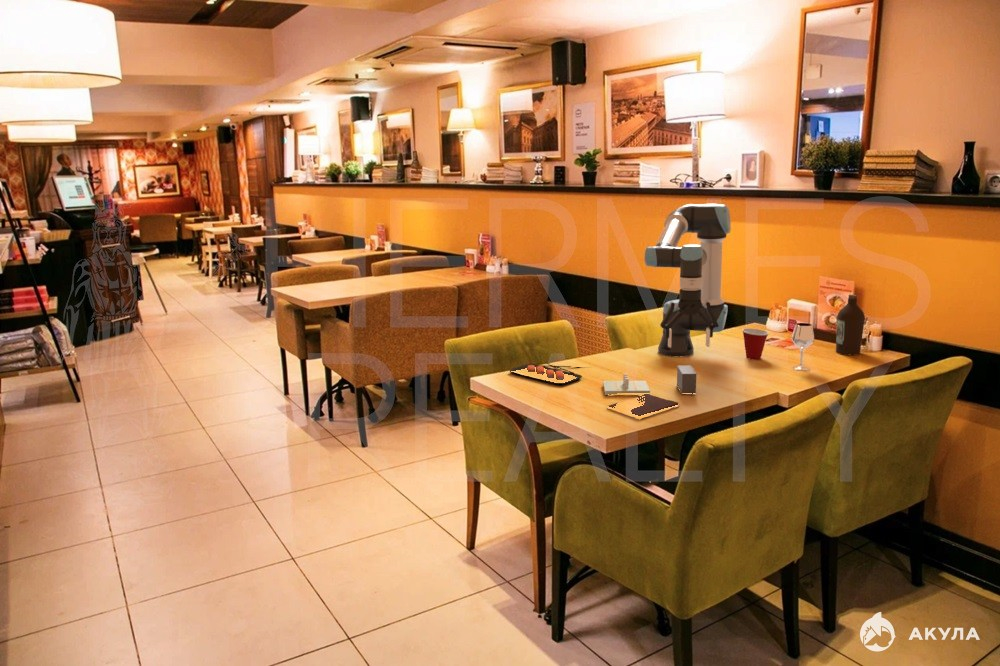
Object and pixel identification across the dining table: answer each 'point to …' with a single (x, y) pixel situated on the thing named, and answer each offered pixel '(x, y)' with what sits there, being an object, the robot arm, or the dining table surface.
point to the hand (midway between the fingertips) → (688, 346)
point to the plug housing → (686, 379)
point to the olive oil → (850, 328)
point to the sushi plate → (549, 371)
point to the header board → (625, 386)
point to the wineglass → (802, 340)
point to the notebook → (651, 404)
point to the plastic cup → (754, 342)
